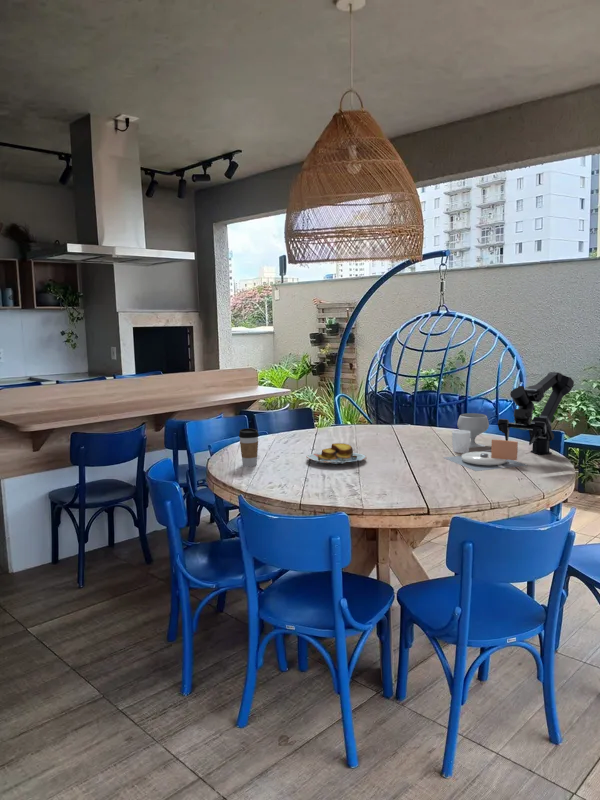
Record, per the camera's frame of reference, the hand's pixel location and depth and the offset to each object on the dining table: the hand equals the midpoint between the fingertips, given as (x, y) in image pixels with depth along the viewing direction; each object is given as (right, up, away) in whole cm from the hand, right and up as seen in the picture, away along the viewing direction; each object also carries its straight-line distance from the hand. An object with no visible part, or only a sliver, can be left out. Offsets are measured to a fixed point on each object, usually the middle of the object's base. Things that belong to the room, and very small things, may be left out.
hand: (517, 443), depth 250 cm
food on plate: (-73, -9, +12) cm, 75 cm away
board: (-13, -9, +3) cm, 16 cm away
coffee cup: (-110, -10, +9) cm, 111 cm away
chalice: (-9, -4, +34) cm, 35 cm away
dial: (-13, -8, +2) cm, 15 cm away
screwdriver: (-3, -6, +23) cm, 24 cm away
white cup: (-18, -6, +22) cm, 29 cm away
